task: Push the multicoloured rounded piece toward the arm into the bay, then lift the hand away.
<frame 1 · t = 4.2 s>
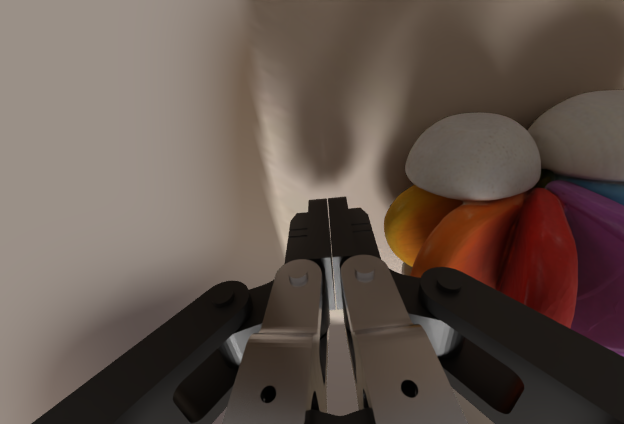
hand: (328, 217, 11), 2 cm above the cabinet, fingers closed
multicoloured rounded piece: (484, 193, 13), on the cabinet, touching gripper
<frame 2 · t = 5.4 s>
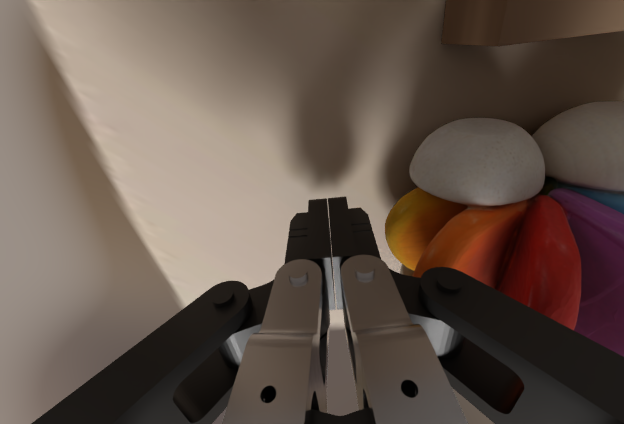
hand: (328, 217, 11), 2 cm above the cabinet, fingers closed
multicoloured rounded piece: (484, 198, 13), on the cabinet, touching gripper
bay: (568, 178, 12), on the cabinet
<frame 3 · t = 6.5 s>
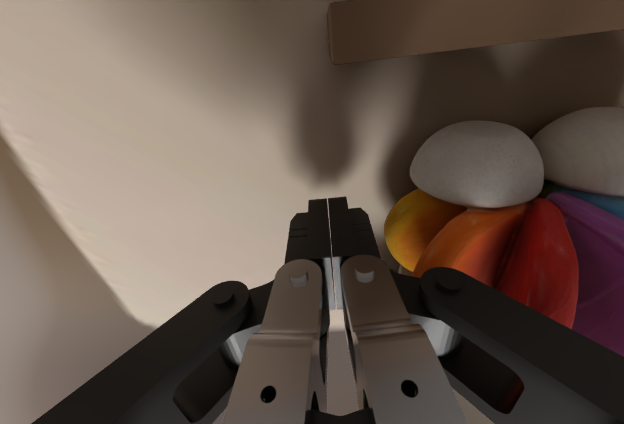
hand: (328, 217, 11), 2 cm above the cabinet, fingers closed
multicoloured rounded piece: (482, 201, 13), on the cabinet, touching gripper
bay: (476, 185, 12), on the cabinet
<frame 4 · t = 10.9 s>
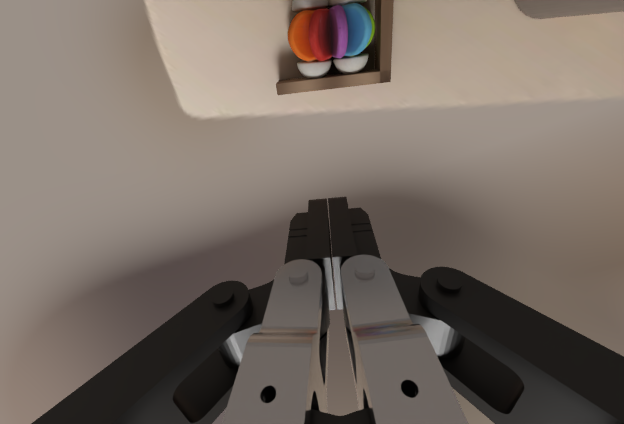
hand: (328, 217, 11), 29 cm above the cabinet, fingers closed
multicoloured rounded piece: (330, 34, 33), on the cabinet
bay: (322, 20, 32), on the cabinet
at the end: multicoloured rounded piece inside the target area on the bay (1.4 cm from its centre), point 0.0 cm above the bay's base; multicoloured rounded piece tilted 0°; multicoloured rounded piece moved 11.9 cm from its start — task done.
